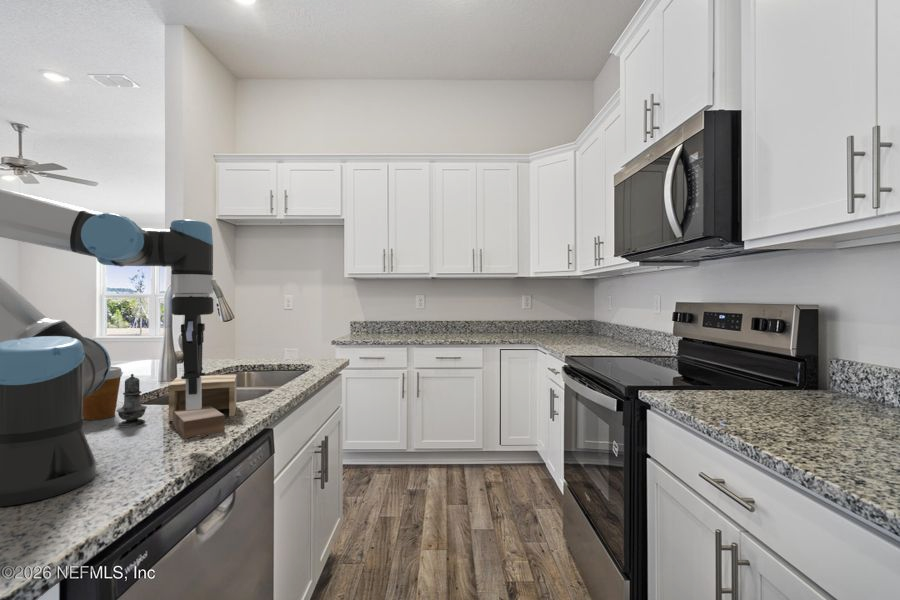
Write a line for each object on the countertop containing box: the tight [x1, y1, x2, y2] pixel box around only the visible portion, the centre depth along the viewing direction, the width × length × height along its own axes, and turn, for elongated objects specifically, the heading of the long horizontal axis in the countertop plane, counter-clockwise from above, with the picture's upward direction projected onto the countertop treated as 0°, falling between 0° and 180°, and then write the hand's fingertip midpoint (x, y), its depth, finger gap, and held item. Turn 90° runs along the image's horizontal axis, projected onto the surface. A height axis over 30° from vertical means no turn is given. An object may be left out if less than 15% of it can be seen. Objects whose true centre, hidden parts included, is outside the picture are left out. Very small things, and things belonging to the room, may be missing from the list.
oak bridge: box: [168, 373, 238, 423], centre depth 114 cm, size 11×14×9 cm
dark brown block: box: [172, 405, 225, 439], centre depth 101 cm, size 12×8×4 cm, turn 42°
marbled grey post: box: [116, 373, 148, 427], centre depth 105 cm, size 6×6×12 cm
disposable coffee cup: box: [83, 366, 124, 421], centre depth 110 cm, size 10×10×12 cm
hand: (193, 408), depth 91 cm, fingers closed
